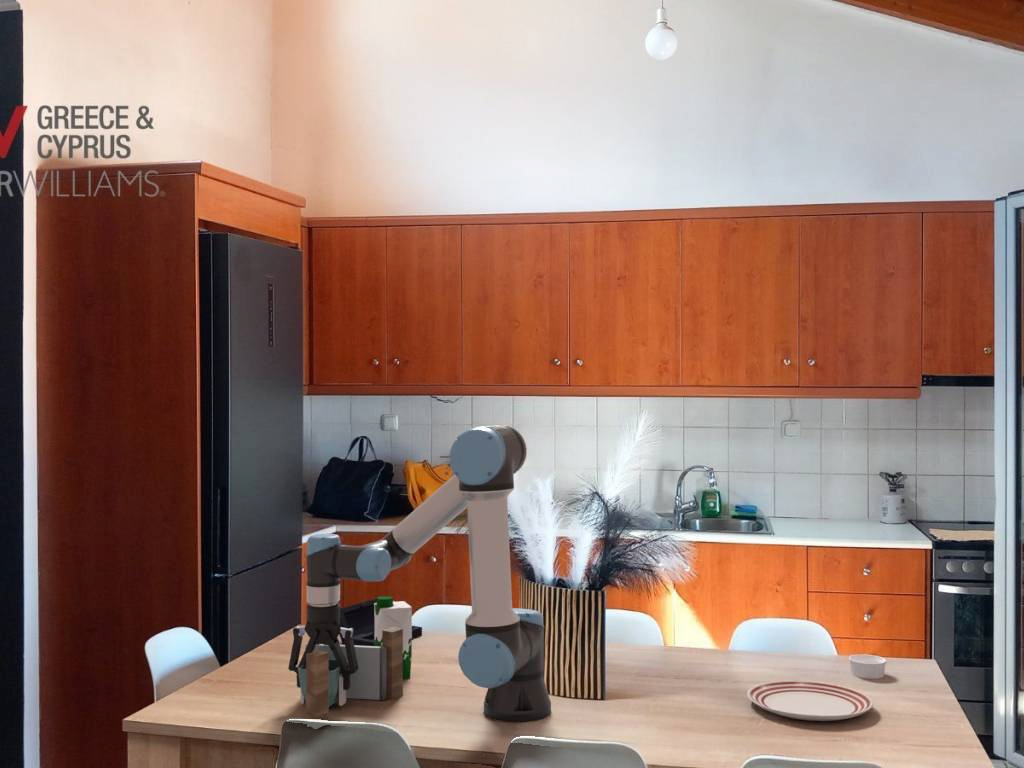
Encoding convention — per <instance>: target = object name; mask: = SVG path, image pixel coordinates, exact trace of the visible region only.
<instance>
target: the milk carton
mask: <svg viewBox="0 0 1024 768" xmlns="http://www.w3.org/2000/svg"><path fill="white" fill-rule="evenodd" d="M376 598H377V603H374V616H375V646H378V647H382V630H385V629H389V628H392V627H395V628H401V629H403V680H405V679H406V680H407V679H411V672H412V671H411V670H412V659H413V658H412V655H413V652H412V651H413V650H412V648H413V646H412V645H413V644H412V640H413V639H412V626H413V622H412V620H413V619H412V618H413V617H412V616H413V615H412V612H413V610H412V609H413V608H412V606H411V605H410V604H408V603H407V602H406V601H405V600H404V601H403V600H401V601H395V600H394V597H393V596H390V595H382V596H377V597H376Z"/></svg>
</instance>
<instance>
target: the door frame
mask: <svg viewBox="0 0 1024 768" xmlns="http://www.w3.org/2000/svg"><path fill="white" fill-rule="evenodd" d="M382 647H387V699H386V700H390V701H394V700H396V699H398V698H400V697H403V695H404V694H403V693H404V692H403V691H404V690H403V689H404V688H403V686H404V684H403V681H404V679H403V629H401V628H395V627H392V628H389V629H385V630H382ZM305 703H306V705H305V706H306V709H305V710H306V711H305V712H306V715H305V716H306V717H305V718H306V719H321V720H329V719H330V718H329V717H330V716H329V715H330V714H329V712H330V711H329V652H325V651H320V650H318V651H314V652H311V653H308V654H306V702H305Z"/></svg>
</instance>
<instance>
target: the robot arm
mask: <svg viewBox="0 0 1024 768" xmlns="http://www.w3.org/2000/svg"><path fill="white" fill-rule="evenodd" d="M527 449H528V448H527V443H526V441H525V439H524V436H523V435H522V434H521V433H520V432H519V431H518V430H516V429H515V428H514V427H512V426H509V425H507V424H493V425H486V426H485V425H481V426H475V427H472V428H470V429H467V430H465V431H463V432H462V433H461V434H460V435H458V436H457V438H456V439H454V441H453V443H452V445H451V448H450V451H449V465H450V468H451V471H452V473H453V475H452V476H451V477H450V478H448V479H447V480H446V481H445V482H444V483H443V484H441V486H440V487H439V488H437V489H436V490H435V491H434V492H433V493H432V494H430V495H429V496H428V497H427V498H426V499H425V500H424V501H423V502H422V503H421V504H419V506H417V507H416V508H415V509H414V510H413V511H412V512H410V513H409V514H408V515H407V516H406V517H404V519H402V520H401V521H400V522H399V523H398V524H397V525H396V526H395V527H393V529H392V530H391V531H389V532H388V533H387V534H386V535H385V536H384V537H382V538H381V539H379V540H376V541H372V542H370V543H367V544H363V545H348V544H342V542H341V536H340V535H338V534H334V533H316V534H312V535H309V536H308V538H307V541H306V554H305V560H306V592H305V593H306V594H305V595H306V603H307V604H306V607H305V609H306V617H305V618H306V624H305V625H302V626H301V625H297V626H296V627H294V628H293V629H292V633H293V642H292V645H291V646H292V647H291V652H290V658H289V663H288V670H289V671H290V672H292V671H293V672H294V673H295V674H296V687H297V688H298V689H301V687H300V680H299V672H298V668H300V667H301V666H303V665H305V664H306V654H308V653H311V652H313V650H314V648H315V646H316V645H320V644H323V645H329V647H330V649H331V650H332V652H333V654H334V657H335V659H336V661H337V663H338V666H339V667H340V670H341V673H342V675H340V676H339V698H338V706H341V707H343V706H344V705H345V704H346V703H347V698H346V690H348V689H349V687H350V674H354V673H355V672H356V671H357V670H358V664H357V658H356V653H355V647H354V642H353V633H354V629H353V628H349V629H347V628H342V626H341V624H340V609H341V604H340V603H339V602H340V601H341V580H353V581H362V582H363V581H364V582H367V583H371V582H383V581H384V580H385V579H386V578H387V576H389V575H390V572H392V571H393V570H398V569H400V568H402V567H403V566H404V565H407V564H408V563H409V562H410V561H411V559H412V556H413V555H414V554H415V553H416V552H417V551H418V550H419V549H420V548H422V547H423V546H424V545H425V544H426V543H428V541H430V540H431V539H432V538H433V537H434V536H435V535H436V534H438V533H439V532H440V531H441V530H442V529H443V528H445V527H446V526H448V525H449V524H450V523H451V522H452V521H453V520H454V519H455V518H456V517H457V516H459V515H460V514H461V513H462V512H464V510H466V509H467V529H468V530H467V531H468V533H467V534H468V549H469V550H468V552H469V572H470V575H469V576H470V578H469V579H470V594H471V595H470V596H471V597H470V598H471V600H470V601H471V613H470V614H469V615H468V616H467V617H466V618H465V621H464V623H465V625H464V626H465V639H464V641H463V642H462V643H461V646H460V648H459V651H458V664H459V667H460V670H461V671H462V673H463V675H464V677H466V678H467V679H468V681H470V682H471V683H472V684H474V685H476V686H477V687H480V688H483V689H487V691H486V694H485V697H484V700H483V714H484V715H485V716H486V717H487V718H488V719H492V720H495V721H498V722H502V723H503V722H504V723H513V724H514V723H515V724H517V723H518V724H519V723H531V722H537V721H541V720H544V719H546V718H548V717H549V716H550V715H551V713H552V701H551V699H550V695H549V693H548V688H547V686H546V681H545V680H544V679H545V678H544V642H545V641H544V639H545V638H544V636H545V635H544V632H545V630H544V629H545V625H544V616H543V614H542V613H541V612H540V611H538V610H536V609H535V610H534V609H530V608H529V609H528V608H520V607H519V608H518V607H517V608H516V607H515V608H514V607H513V598H512V597H513V595H512V573H511V571H512V570H511V553H510V552H511V550H510V549H511V548H510V529H509V528H510V527H509V526H510V525H509V510H508V508H509V506H508V505H509V504H508V497H509V496H510V494H511V493H512V492H513V491H514V489H515V481H514V475H515V474H516V473H517V472H518V471H520V470H521V468H522V466H524V464H525V462H526V458H527V454H528V453H527ZM305 633H306V634H307V636H308V638H309V640H308V642H307V643H308V644H307V643H306V644H307V647H306V650H304V652H303V655H302V657H301V658H300V653H301V648H302V643H303V636H305ZM340 633H342V636H343V638H345V639H344V642H345V648H346V653H347V659H348V663H347V661H346V658H345V656H344V654H343V651H342V649H341V647H340V645H341V642H340V640H339V638H338V636H340V635H339V634H340ZM299 658H300V661H299ZM348 664H349V665H348ZM305 703H306V700H305V698H304V696H303V694H302V691H301V690H300V704H303V705H304V704H305Z"/></svg>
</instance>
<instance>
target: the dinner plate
mask: <svg viewBox="0 0 1024 768" xmlns="http://www.w3.org/2000/svg"><path fill="white" fill-rule="evenodd" d="M746 694H747V698H748V699H749V701H750V702H752V703H753V704H755V705H757V707H759V708H761V709H763V710H766V711H768V712H770V713H773V714H775V715H778V716H781V717H786V718H790V719H794V720H802V721H808V722H809V721H810V722H811V721H812V722H833V721H841V720H847V719H852V718H855V717H857V716H861V715H863V714H865V713H867V712H868V711H870V710H871V709H872V707H873V706H874V701H873V699H872V698H871V697H870V696H868V695H867V694H865V693H864V692H862V691H859V690H857V689H854V688H851V687H848V686H843V685H838V684H835V683H827V682H821V681H815V680H813V681H812V680H778V681H776V680H775V681H769V682H764V683H759V684H757V685H754V686H752V687H751V688H749V689H748V690H747V693H746Z"/></svg>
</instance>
